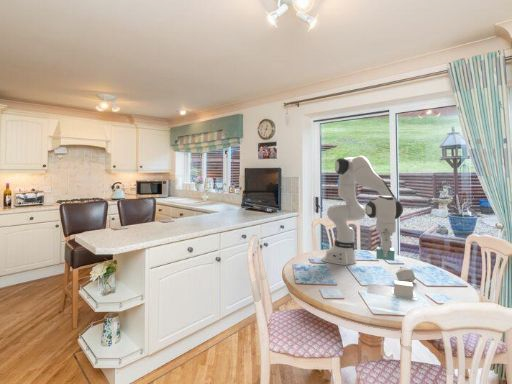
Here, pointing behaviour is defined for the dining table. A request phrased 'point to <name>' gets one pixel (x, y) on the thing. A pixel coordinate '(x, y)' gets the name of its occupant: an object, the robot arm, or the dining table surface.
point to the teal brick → (389, 256)
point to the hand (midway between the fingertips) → (385, 254)
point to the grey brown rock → (405, 275)
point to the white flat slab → (387, 291)
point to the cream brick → (403, 288)
